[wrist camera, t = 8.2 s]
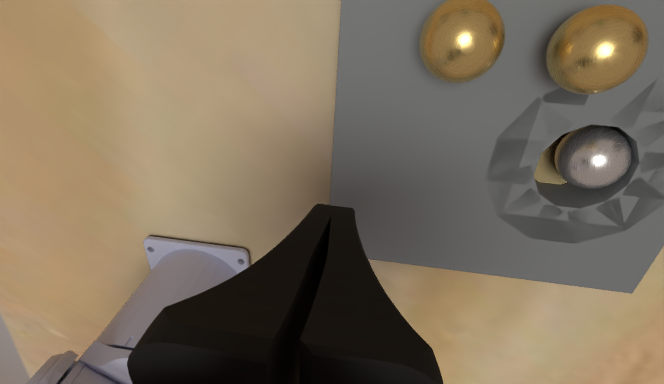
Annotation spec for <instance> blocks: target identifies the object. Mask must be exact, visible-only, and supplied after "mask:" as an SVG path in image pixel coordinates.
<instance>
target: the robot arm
mask: <svg viewBox="0 0 664 384" xmlns="http://www.w3.org/2000/svg"><path fill="white" fill-rule="evenodd" d="M143 243H144V247H145V251H146V255H147V258H148V262H149V266H150V269H151V272H150V273H149V274H148V276H147V277H146V278H145V279H144V281H143V282H142V283H141V284H140V286H139V287H138V288H137V289H136V291H135V292H134V293H133V295H132V296H131V297H130V298H129V300H128V301H127V302H126V303H125V305H124V306H123V307H122V308H121V310H120V311H119V312H118V313H117V315H116V316H115V317H114V318H113V320H112V321H111V322H110V323H109V325H108V326H107V327H106V328H105V330H104V331H103V332H102V333H101V335H100V336H99V337H98V338H97V340H96V341H94V342H93V343H92V344H91V346H90V347H89V348H88V349H87V350H86V351H85V353H84V354H83V355H82V356H81V357H80V358H79V360H78V361H75V359H76V358H77V357H78V355H77V354H76V353H74V352H73V351H67V352H66V353H64V354H58V355H54V356H52V357H50V358H49V359H48V360H47V361H46V363H45V364H44V365H43V366H42V367H41V368H40V369H39V370H38V371H37V372H36V373H35V375H34V376H33V377H32V378H31V379H30V380H29V381H28V383H27V384H443V380H442V376H441V373H440V370H439V366H438V363H437V361H436V358H435V355H434V352H433V350H432V348H431V347H430V346H429V345H428V344H427V343H426V342H425V341H424V340H423V339H422V338H421V337H420V336H419V335H418V334H417V333H416V332H415V330H414V329H413V328H412V327H411V326H410V325H409V323H408V322H407V321H406V320H405V319H404V317H403V316H402V315H401V314H400V312H399V311H398V310H397V308H396V307H395V305H394V304H393V303H392V301H391V300H390V298H389V297H388V296H387V294H386V293H385V291H384V289H383V288H382V286H381V284H380V283H379V281H378V279H377V277H376V275H375V274H374V272H373V270H372V268H371V265H370V263H369V261H368V259H367V256H366V254H365V251H364V249H363V246H362V243H361V240H360V237H359V234H358V230H357V225H356V220H355V210H354V209H353V208H349V207H340V206H332V205H324V204H317V205H315V206H314V207H313V208H312V210H311V211H310V212H309V213H308V215H307V216H306V217H305V218H304V219H303V220H302V221H301V222H300V224H299V225H298V226H297V227H296V228H295V229H294V230H293V231H292V232H291V233H290V234H289V235H288V236H287V237H286V238H285V239H283V240H282V241H281V242H280V243H279V244H278V245H277V246H276V247H274V248H273V249H272V250H271V251H270V252H268V253H267V254H266V255H265V256H263V257H262V258H261V259H259V260H258V261H257V262H255V263H254V264H252V265H251V266H250V264H249V254H248V252H247V251H246V250H245V249H242V248H236V247H228V246H221V245H213V244H206V243H198V242H191V241H183V240H176V239H168V238H160V237H153V236H148V237H146V238H145V239H144V241H143ZM151 247H152V248H151ZM240 259H242V260H243V261H242V260H240Z"/></svg>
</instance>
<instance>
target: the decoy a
mask: <svg viewBox="0 0 664 384" xmlns="http://www.w3.org/2000/svg"><path fill="white" fill-rule="evenodd" d="M504 43H505V25H504V21H503V18H502V16H501V14H500V12H499V11H498V10H497V8H496V7H495V6H494V5H493V4H492V3H490V2H489V1H487V0H447V1H445V2H443V3H442V4H440V5H439V6H438V7H436V8H435V9H434V10H433V11H432V13H431V14H430V15H429V16H428V18H427V19H426V21H425V23H424V25H423V27H422V30H421V34H420V40H419V50H420V55H421V59H422V61H423V63H424V65H425V67H426V68H427V69H428V71H429V72H430V73H431V74H432V75H434V76H435V77H437V78H438V79H440V80H442V81H446V82H450V83H465V82H469V81H472V80H475V79H477V78H479V77H480V76H482V75H483V74H485V73H486V72H487V71H489V70H490V69H491V68H492V66H493V65H494V64H495V63H496V61H497V60H498V58H499V57H500V54H501V52H502V50H503V47H504Z"/></svg>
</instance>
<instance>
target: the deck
mask: <svg viewBox="0 0 664 384" xmlns="http://www.w3.org/2000/svg"><path fill="white" fill-rule="evenodd" d="M445 1H447V0H341V17H340V34H339V51H338V69H337V86H336V103H335V120H334V137H333V155H332V172H331V189H330V205H332V206H340V207H349V208H353V209H354V210H355V220H356V225H357V230H358V234H359V237H360V240H361V243H362V246H363V249H364V251H365V254H366V256H367V259H373V260H381V261H388V262H396V263H404V264H411V265H419V266H426V267H434V268H442V269H449V270H457V271H465V272H472V273H480V274H488V275H495V276H503V277H510V278H518V279H526V280H533V281H541V282H549V283H556V284H564V285H571V286H579V287H587V288H594V289H602V290H610V291H617V292H625V293H633V291H634V290H635V288H636V287H637V285H638V284H639V282H640V281H641V279H642V278H643V276H644V275H645V273H646V272H647V270H648V269H649V267H650V266H651V264H652V263H653V261H654V260H655V258H656V257H657V255H658V254H659V252H660V250H661V249H662V247H663V246H664V0H487V1H489V2H490V3H492V4H493V5H494V6H495V7H496V8H497V10H498V11H499V12H500V14H501V16H502V18H503V21H504V25H505V43H504V47H503V50H502V52H501V54H500V57H499V58H498V60H497V61H496V63H495V64H494V65H493V66H492V68H491V69H490V70H489V71H487V72H486V73H485V74H483V75H482V76H480V77H479V78H477V79H475V80H472V81H469V82H465V83H450V82H446V81H442V80H440V79H438V78H437V77H435V76H434V75H432V74H431V73H430V72H429V71H428V69H427V68H426V67H425V65H424V63H423V61H422V59H421V55H420V50H419V40H420V34H421V30H422V27H423V25H424V23H425V21H426V19H427V18H428V16H429V15H430V14H431V13H432V11H433V10H434V9H435V8H436V7H438V6H439V5H440V4H442V3H443V2H445ZM597 5H619V6H622V7H625V8H628V9H630V10H632V11H633V12H635V13H636V14H637V15H639V16H640V18H641V19H642V20H643V22H644V23H645V25H646V27H647V30H648V34H649V46H648V51H647V54H646V57H645V59H644V61H643V63H642V64H641V66H640V67H639V69H638V70H637V71H636V72H635V73H634V74H633V75H632V76H631V77H630V78H629V79H628V80H627V81H625V82H624V83H622V84H621V85H619V86H617V87H615V88H613V89H611V90H608V91H605V92H602V93H597V94H577V93H573V92H570V91H567V90H565V89H563V88H562V87H560V86H559V85H558V84H557V83H556V82H555V81H554V80H553V79H552V78H551V76H550V74H549V72H548V69H547V65H546V52H547V48H548V44H549V42H550V40H551V38H552V36H553V34H554V33H555V31H556V30H557V29H558V28H559V26H560V25H561V24H562V23H563V22H564V21H566V20H567V19H568V18H570V17H571V16H573V15H574V14H576V13H577V12H579V11H581V10H584V9H586V8H589V7H593V6H597ZM591 124H592V125H603V126H610V127H611V128H612V129H614V130H616V131H618V132H619V133H620V134H622V135H623V136H624V137H625V138H626V140H627V141H628V143H629V145H630V148H631V154H632V158H631V163H630V166H629V168H628V170H627V171H626V173H625V174H624V175H623V176H622V177H621V178H620V179H619V180H617V181H616V182H614V183H612V184H610V185H608V186H605V187H602V188H596V189H587V188H581V187H577V186H574V185H572V184H570V183H566V184H563V185H557V184H547V183H539V182H538V181H536V180H535V179H534V175H533V174H534V172H535V169H536V167H537V164H538V161H539V159H540V156H541V153H542V152H543V151H544V150H546V149H547V148H548V147H549V146H550V145H551V144H552V143H553V142H554V141H556V140H557V139H558V138H559V137H560V136H561V135H562V134H565V133H568V132H571V131H573V130H576V129H579V128H582V127H585V126H588V125H591Z"/></svg>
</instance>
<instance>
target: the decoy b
mask: <svg viewBox="0 0 664 384" xmlns="http://www.w3.org/2000/svg"><path fill="white" fill-rule="evenodd" d="M648 46H649V34H648V30H647V27H646V25H645V23H644V22H643V20H642V19H641V18H640V16H639V15H637V14H636V13H635V12H633V11H632V10H630V9H628V8H625V7H622V6H619V5H597V6H593V7H589V8H586V9H584V10H581V11H579V12H577V13H576V14H574V15H573V16H571V17H570V18H568V19H567V20H566V21H564V22H563V23H562V24H561V25H560V26H559V28H558V29H557V30H556V31H555V33H554V34H553V36H552V38H551V40H550V42H549V44H548V48H547V52H546V65H547V69H548V72H549V74H550V76H551V78H552V79H553V80H554V81H555V82H556V83H557V84H558V85H559V86H560V87H562V88H563V89H565V90H567V91H570V92H573V93H577V94H597V93H602V92H605V91H608V90H611V89H613V88H615V87H617V86H619V85H621V84H622V83H624V82H625V81H627V80H628V79H629V78H630V77H631V76H632V75H633V74H634V73H635V72H636V71H637V70H638V69H639V67H640V66H641V64H642V63H643V61H644V59H645V57H646V54H647V51H648Z"/></svg>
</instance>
